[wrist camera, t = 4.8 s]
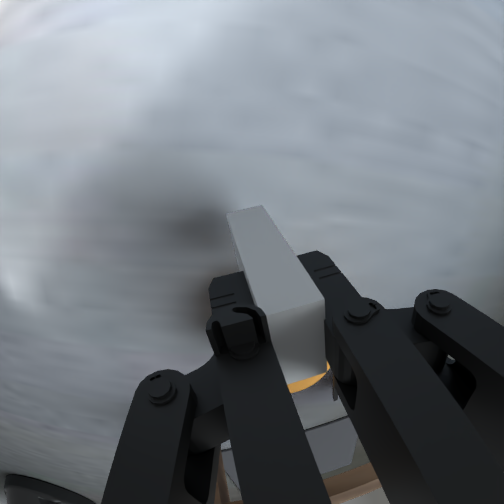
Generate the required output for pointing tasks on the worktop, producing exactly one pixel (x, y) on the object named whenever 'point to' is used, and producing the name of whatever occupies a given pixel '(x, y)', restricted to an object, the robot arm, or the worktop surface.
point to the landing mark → (317, 447)
